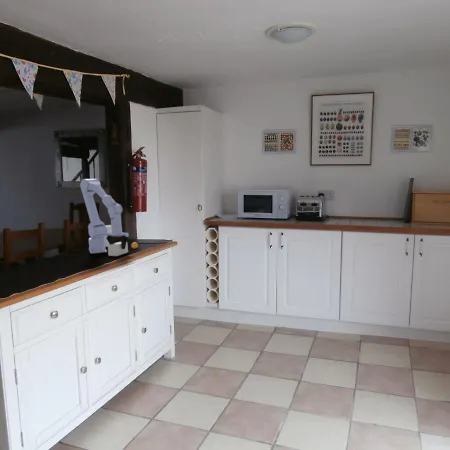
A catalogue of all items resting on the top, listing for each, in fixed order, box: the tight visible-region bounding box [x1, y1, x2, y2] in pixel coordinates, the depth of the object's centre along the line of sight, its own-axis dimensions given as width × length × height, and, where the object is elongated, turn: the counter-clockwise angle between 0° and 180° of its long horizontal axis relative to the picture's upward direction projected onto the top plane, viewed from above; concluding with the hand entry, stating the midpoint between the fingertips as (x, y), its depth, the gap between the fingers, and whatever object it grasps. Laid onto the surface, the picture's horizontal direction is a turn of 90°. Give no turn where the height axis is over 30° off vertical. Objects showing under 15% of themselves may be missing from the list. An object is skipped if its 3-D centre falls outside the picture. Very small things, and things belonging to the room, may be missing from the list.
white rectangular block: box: [107, 241, 129, 257], centre depth 242 cm, size 11×6×6 cm, turn 159°
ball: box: [131, 241, 139, 250], centre depth 258 cm, size 4×4×4 cm
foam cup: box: [105, 224, 112, 248], centre depth 271 cm, size 10×9×13 cm
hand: (118, 248), depth 242 cm, fingers open, 7 cm apart
